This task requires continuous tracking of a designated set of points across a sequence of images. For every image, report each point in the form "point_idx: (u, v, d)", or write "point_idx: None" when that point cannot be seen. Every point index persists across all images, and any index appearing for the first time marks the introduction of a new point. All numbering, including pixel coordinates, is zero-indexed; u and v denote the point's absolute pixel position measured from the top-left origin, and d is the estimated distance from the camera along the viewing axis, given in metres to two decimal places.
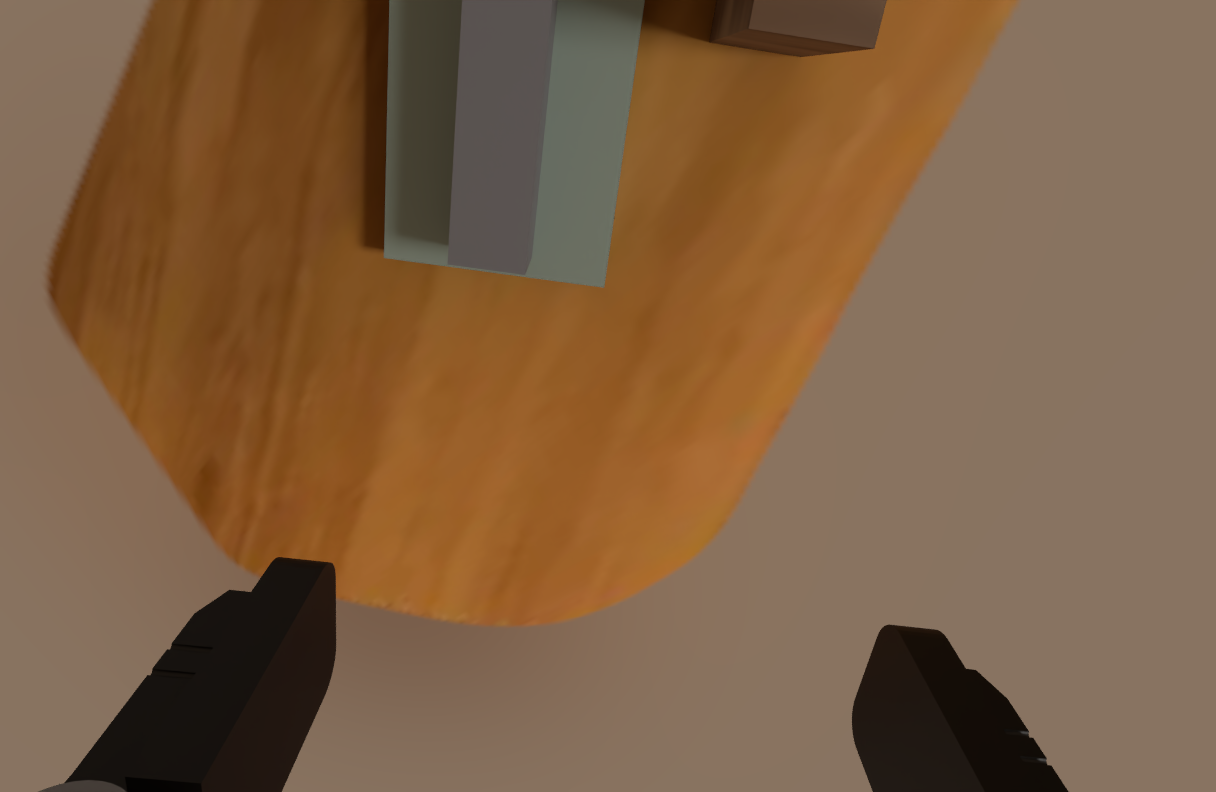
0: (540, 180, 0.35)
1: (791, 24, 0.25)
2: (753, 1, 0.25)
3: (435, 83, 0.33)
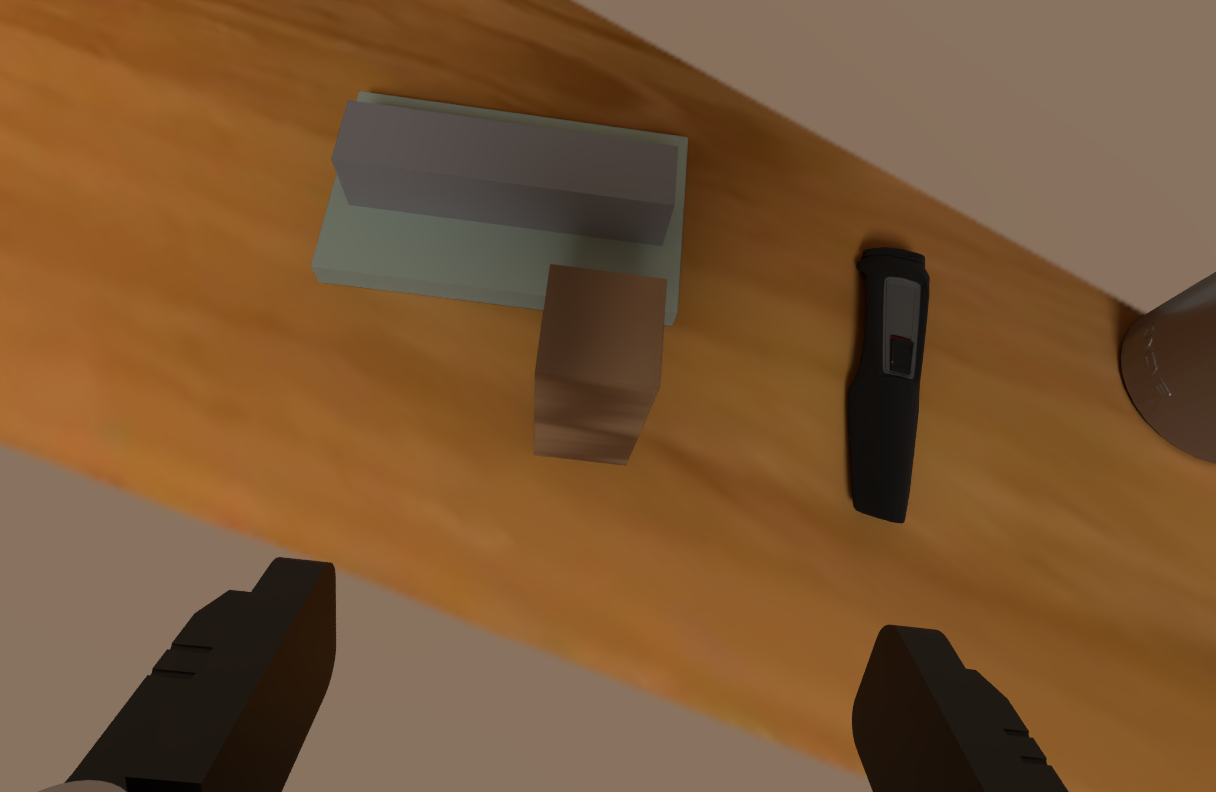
0: (423, 215, 0.37)
1: (554, 298, 0.27)
2: (572, 268, 0.27)
3: None
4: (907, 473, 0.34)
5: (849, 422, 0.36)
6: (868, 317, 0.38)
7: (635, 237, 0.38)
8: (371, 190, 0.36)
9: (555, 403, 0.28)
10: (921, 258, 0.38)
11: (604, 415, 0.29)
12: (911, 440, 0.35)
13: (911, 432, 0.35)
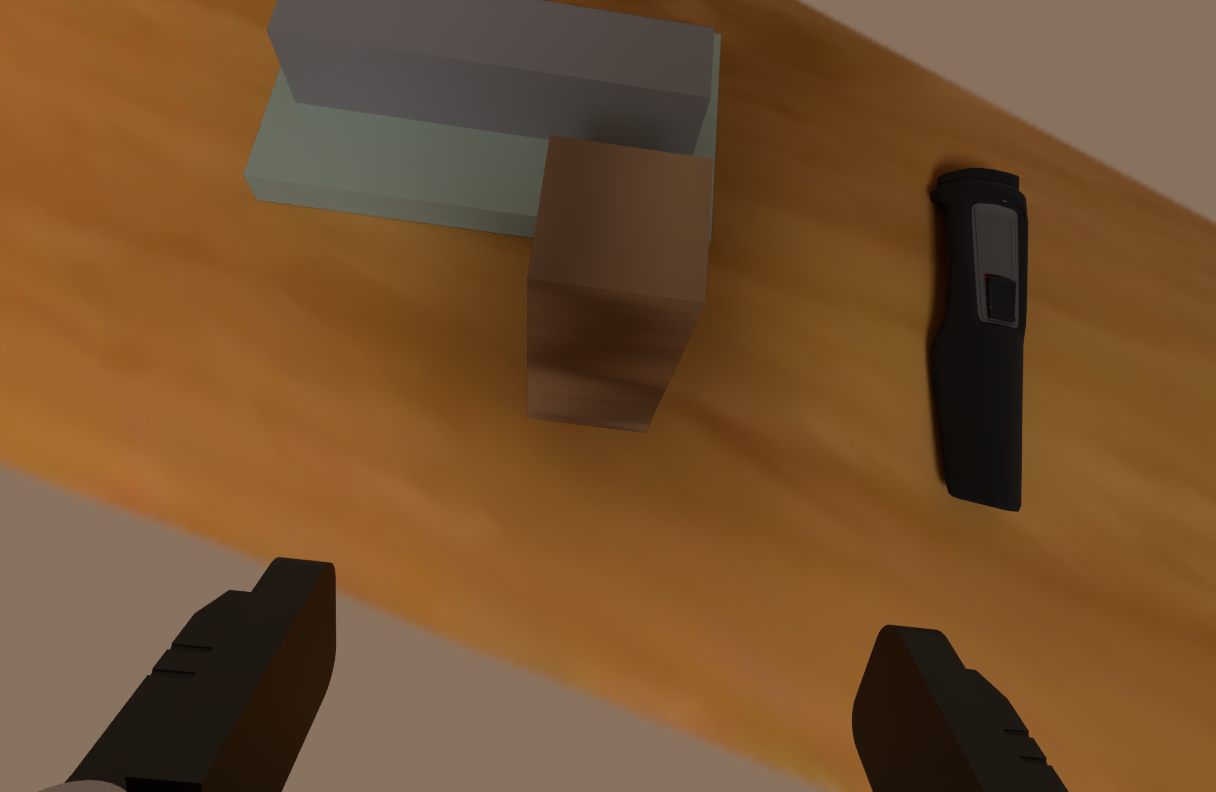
0: (390, 116, 0.29)
1: (555, 180, 0.19)
2: (580, 143, 0.20)
3: None
4: (1020, 447, 0.26)
5: (935, 385, 0.29)
6: (953, 254, 0.30)
7: (657, 147, 0.30)
8: (322, 79, 0.28)
9: (555, 333, 0.20)
10: (1016, 180, 0.31)
11: (622, 354, 0.21)
12: (1021, 405, 0.27)
13: (1021, 394, 0.27)
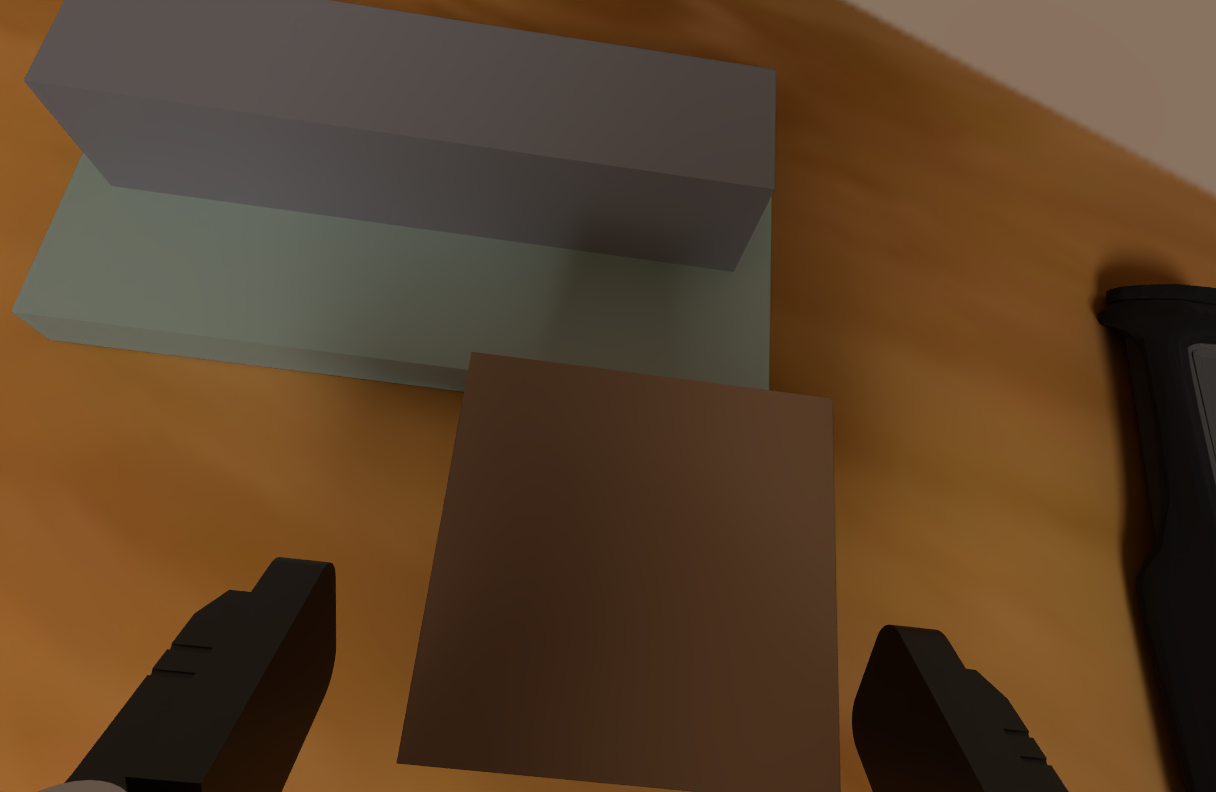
0: (262, 207, 0.19)
1: (479, 468, 0.08)
2: (541, 365, 0.09)
3: None
4: None
5: (1157, 651, 0.18)
6: (1166, 427, 0.19)
7: (682, 254, 0.19)
8: (141, 154, 0.17)
9: None
10: None
11: None
12: None
13: None
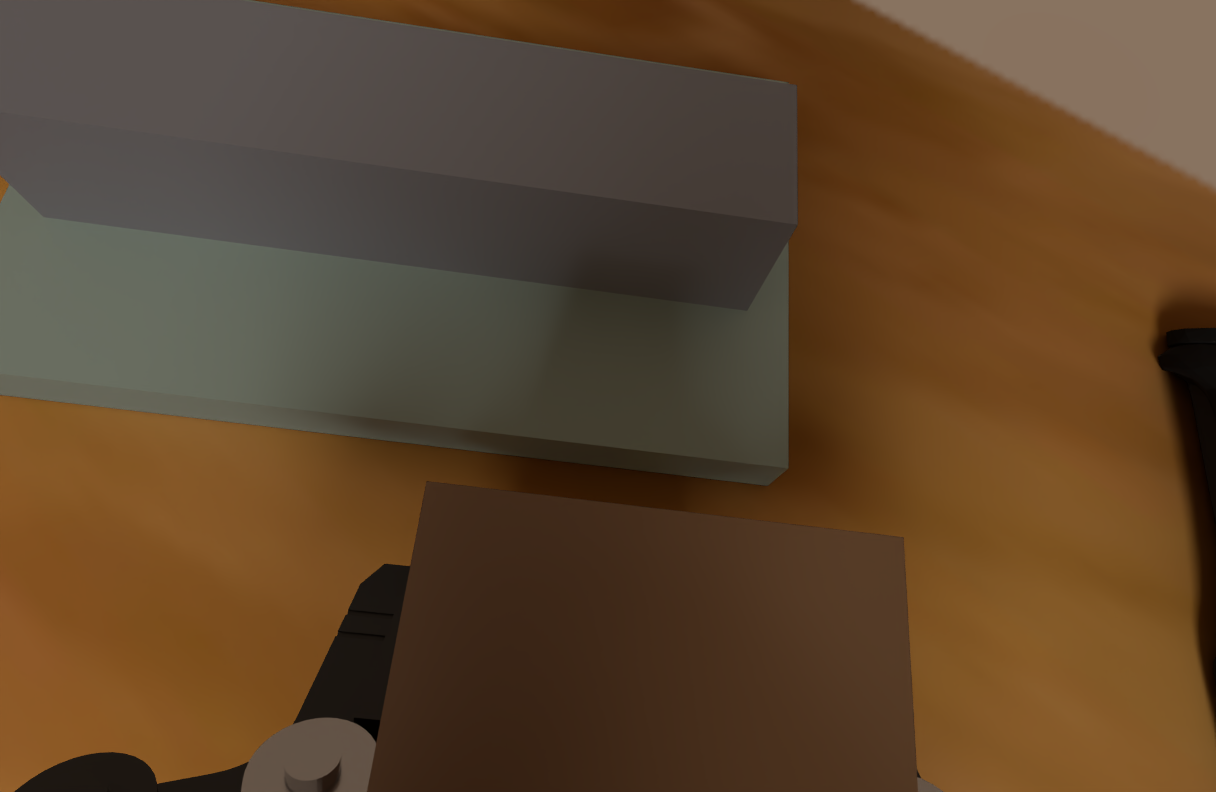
0: (214, 240, 0.17)
1: (434, 650, 0.06)
2: (519, 495, 0.07)
3: None
4: None
5: None
6: None
7: (690, 292, 0.17)
8: (71, 183, 0.15)
9: None
10: None
11: None
12: None
13: None
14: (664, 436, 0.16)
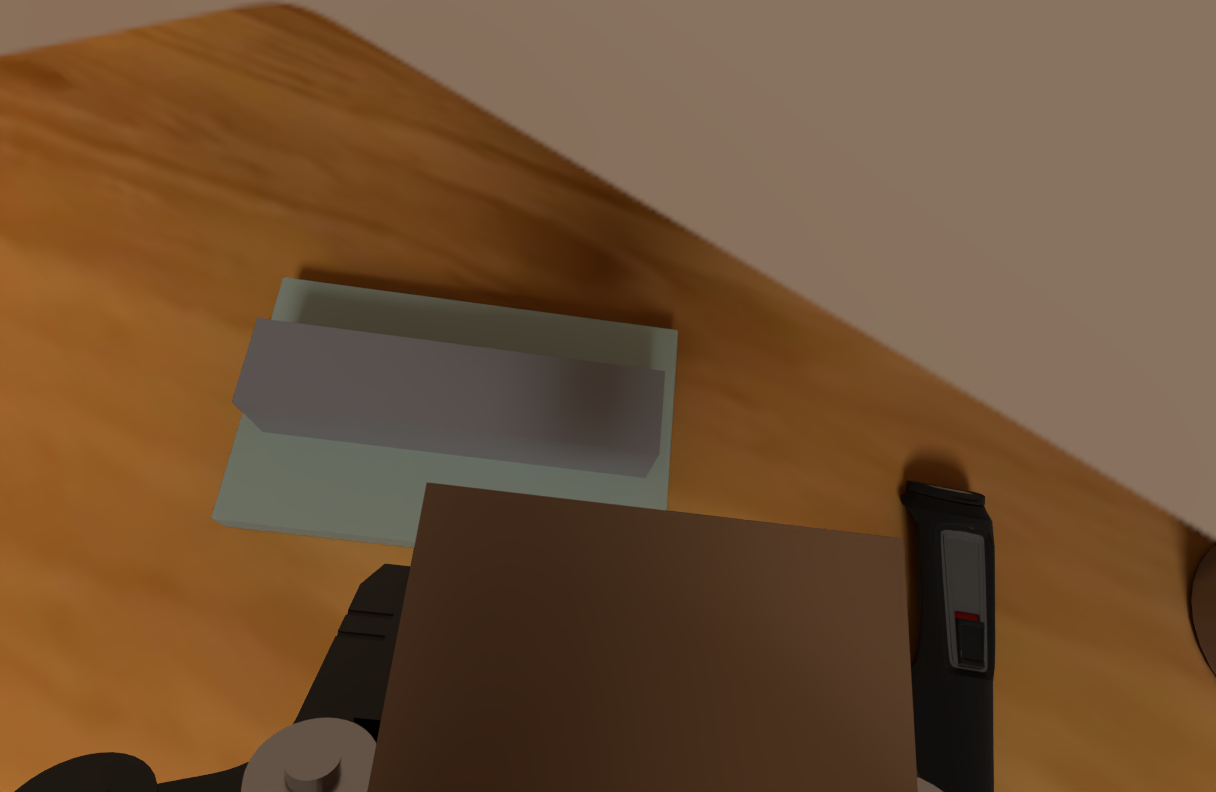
0: (354, 443, 0.31)
1: (433, 651, 0.06)
2: (519, 496, 0.07)
3: (461, 344, 0.33)
4: None
5: None
6: (924, 584, 0.31)
7: (612, 471, 0.31)
8: (287, 424, 0.29)
9: None
10: (982, 501, 0.32)
11: None
12: (992, 760, 0.28)
13: (991, 749, 0.28)
14: None
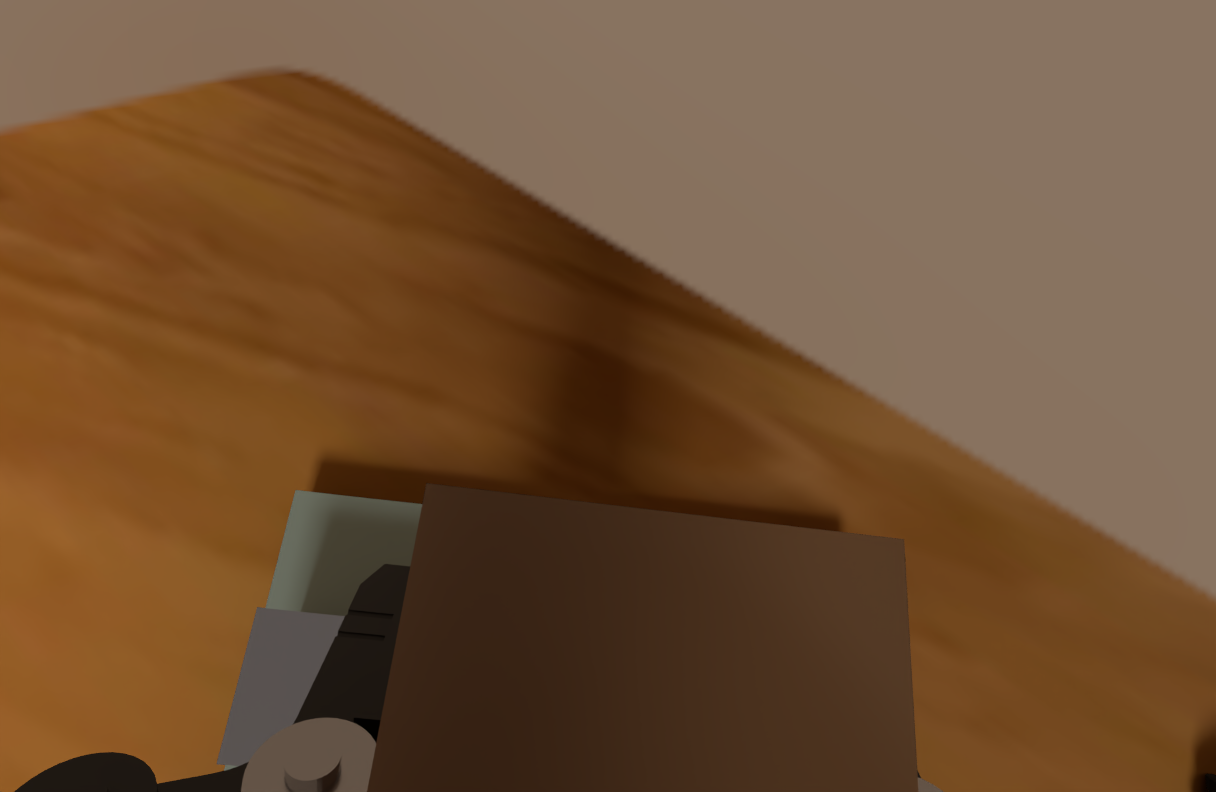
0: None
1: (433, 653, 0.06)
2: (519, 497, 0.07)
3: None
4: None
5: None
6: None
7: None
8: None
9: None
10: None
11: None
12: None
13: None
14: None
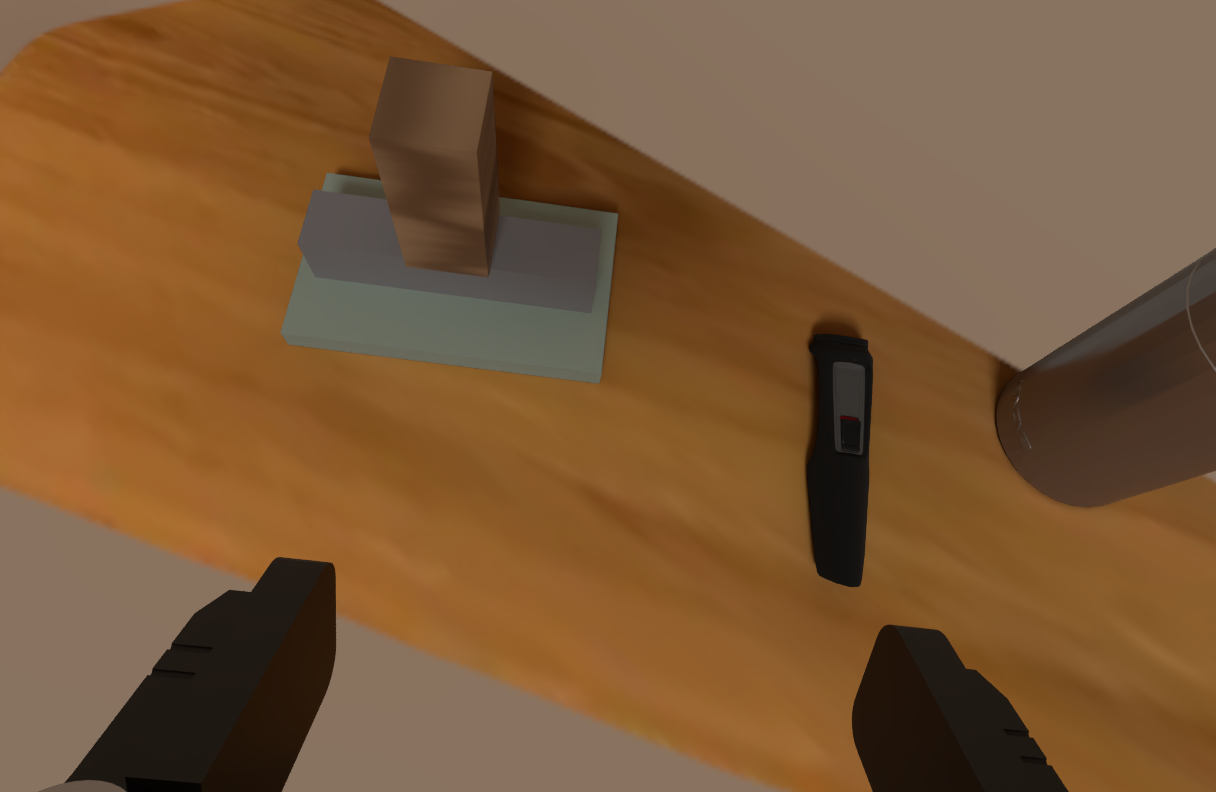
0: (380, 286, 0.43)
1: (391, 82, 0.31)
2: (409, 62, 0.32)
3: None
4: (860, 541, 0.39)
5: (809, 495, 0.42)
6: (820, 399, 0.43)
7: (566, 306, 0.43)
8: (333, 266, 0.41)
9: (399, 183, 0.33)
10: (864, 342, 0.44)
11: (445, 200, 0.34)
12: (863, 510, 0.40)
13: (862, 503, 0.40)
14: (553, 361, 0.42)
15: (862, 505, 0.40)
